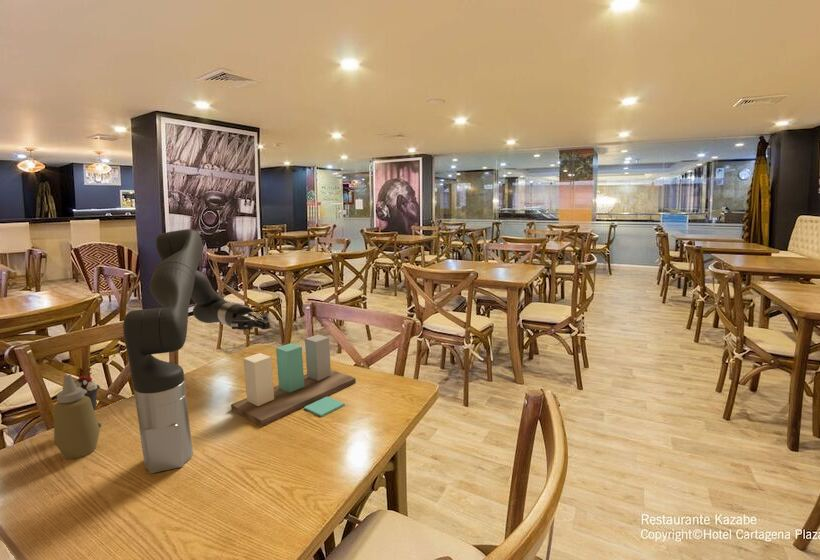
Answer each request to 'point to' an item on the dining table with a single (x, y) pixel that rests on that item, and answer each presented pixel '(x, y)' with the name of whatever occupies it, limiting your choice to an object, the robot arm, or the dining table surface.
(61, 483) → the dining table surface
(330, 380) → the dark wooden board
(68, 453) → the squeeze bottle
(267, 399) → the cream tall rectangular block
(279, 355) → the tall teal pillar
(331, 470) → the dining table surface
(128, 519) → the dining table surface
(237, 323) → the robot arm
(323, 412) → the pad
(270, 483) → the dining table surface
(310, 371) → the tall grey rectangular prism
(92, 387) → the sundae
